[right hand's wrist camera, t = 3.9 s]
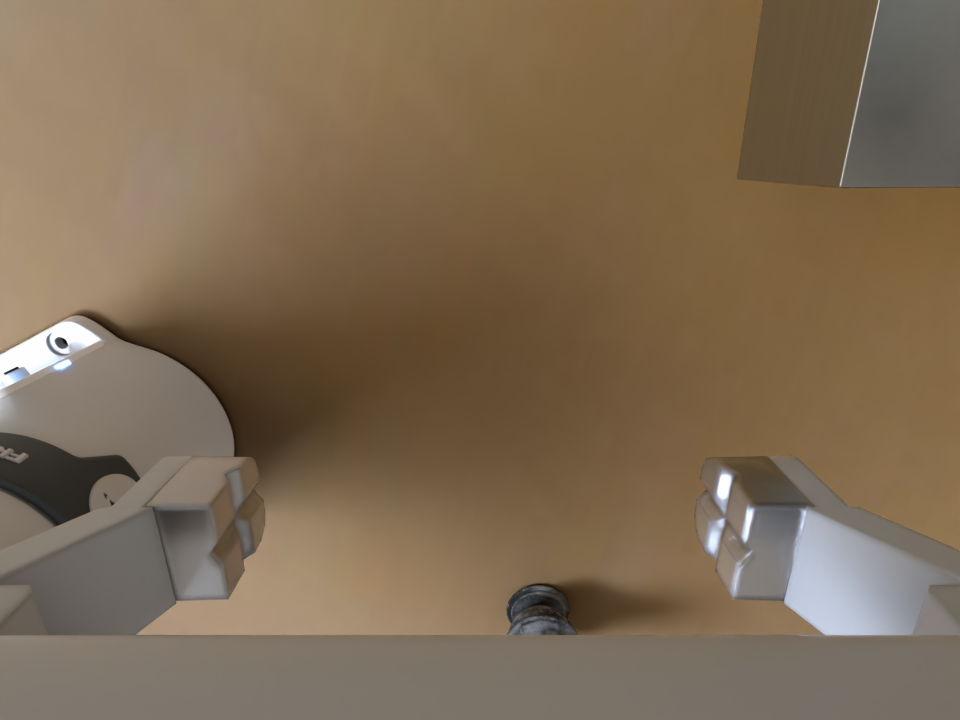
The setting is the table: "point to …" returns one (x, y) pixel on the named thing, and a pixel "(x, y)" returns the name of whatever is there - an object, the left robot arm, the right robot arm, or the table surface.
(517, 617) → the salt shaker
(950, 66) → the bar
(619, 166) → the table surface
